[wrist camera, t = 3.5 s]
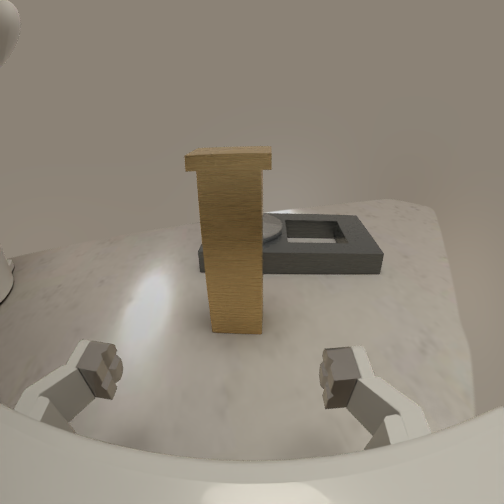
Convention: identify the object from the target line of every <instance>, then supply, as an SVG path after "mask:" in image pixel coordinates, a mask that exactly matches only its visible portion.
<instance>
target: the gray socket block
mask: <svg viewBox="0 0 504 504" xmlns="http://www.w3.org/2000/svg"><path fill="white" fill-rule="evenodd" d="M287 237H301V238H335V239H336V242H337V243H290V242H288V241H287ZM198 256H199V265H200V272H205V265H204V256H203V246H202V244H201V247H200V249H199V251H198ZM383 256H384V253H383V252H382V251H381V249H380V248H379V246H378V245H377V243H376V242H375V241H374V239H373V238H372V236H371V235H370V234H369V232H368V231H367V229H366V228H365V227H364V225H363V224H362V223H361V221H360V220H359V219H358V217H357V216H353V215H323V214H272V213H263V273H277V274H380V270H381V265H382V261H383Z"/></svg>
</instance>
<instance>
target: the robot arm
mask: <svg viewBox="0 0 504 504" xmlns="http://www.w3.org/2000/svg"><path fill="white" fill-rule="evenodd" d="M20 28H21V20H20V16H19V12H18V10H17V9H16V7H15V6H14V5H13V4H12V3H11V2H9V1H7V0H0V67H1V66H3V64H4V63H5V62H6V61H7V59H8V58H9V57H10V55H11V54H12V52H13V50H14V48H15V46H16V44H17V41H18V38H19V35H20ZM13 268H14V264H13V262H12V260H11V259H6V257H5V254H4V252H3V250H2V247H1V245H0V303H1V302H2V300H3V299H4V298H5V297H6V296H7V294H8V293H9V291H10V289H11V288H12V285H13V276H12V270H13ZM116 352H117V349H116V347H115V345H114V344H110V343H103V342H97V341H90V340H84V339H82V340H81V341H79V343H78V345H77V346H76V348H75V350H74V351H73V353H72V355H71V357H70V358H69V360H68V362H67V364H66V365H65V366H64V365H62V366H61V367H59V368H57V369H56V370H54V371H53V372H51V373H50V374H48V375H46V376H45V377H43V378H42V379H40V380H39V381H37V382H35V383H34V384H32V385H31V386H29V387H28V388H26V389H25V390H24V392H23V394H22V395H21V397H20V399H19V401H18V403H17V404H16V406H15V408H14V410H13V409H11V408H9V407H7V406H4V405H2V404H0V504H504V407H502V406H501V407H497V408H495V409H492V410H490V411H488V412H486V413H484V414H481V415H479V416H477V417H474V418H472V419H469V420H467V421H464V422H462V423H459V424H456V425H454V426H451V427H448V428H445V429H443V430H440V431H437V432H434V433H431V430H430V428H429V425H428V423H427V420H426V417H425V415H424V412H423V410H422V408H421V407H420V406H419V405H417V404H416V403H415V402H413V401H412V400H411V399H409V398H408V397H406V396H405V395H404V394H402V393H401V392H400V391H398V390H397V389H396V388H394V387H393V386H392V385H390V384H389V383H388V382H386V381H385V380H383V379H382V378H381V377H379V376H375V374H374V371H373V369H372V366H371V363H370V361H369V358H368V356H367V353H366V351H365V348H364V346H362V345H361V346H351V347H339V348H328V349H324V351H323V355H322V357H323V362H322V363H321V364H320V369H319V379H320V385H321V387H322V388H323V389H324V392H323V395H322V396H323V401H324V406H325V409H333V408H344V407H347V410H348V411H349V412H350V413H351V414H352V415H353V416H354V417H355V418H356V419H357V420H358V421H359V422H360V423H361V424H362V425H363V426H364V427H365V428H366V429H367V430H368V431H369V432H370V434H371V435H372V436H373V437H372V438H371V440H370V441H369V443H368V444H367V446H366V447H365V448H364V450H363V451H357V452H351V453H345V454H339V455H331V456H323V457H314V458H303V459H289V460H261V461H245V460H217V459H203V458H192V457H183V456H175V455H167V454H160V453H154V452H148V451H143V450H138V449H133V448H128V447H123V446H119V445H114V444H110V443H106V442H102V441H99V440H95V439H91V438H88V437H84V436H81V435H78V434H75V430H74V429H73V428H72V427H71V426H70V424H69V423H68V422H70V421H71V420H72V419H73V418H74V417H75V416H76V415H77V414H78V413H79V412H81V411H82V410H83V409H84V408H85V407H86V406H87V405H88V404H89V403H90V402H92V401H93V400H94V399H95V397H99V398H104V399H110V400H113V397H114V395H115V392H116V390H117V386H116V382H118V381H119V380H120V379H121V377H122V373H123V364H122V361H121V358H120V357H118V356H117V355H116Z"/></svg>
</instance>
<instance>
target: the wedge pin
mask: <svg viewBox="0 0 504 504" xmlns="http://www.w3.org/2000/svg"><path fill="white" fill-rule="evenodd" d="M185 169H186V171H196V174H197V188H198V201H199V213H200V225H201V235H202V246H203V256H204V265H205V275H206V283H207V292H208V300H209V308H210V316H211V324H212V332H217V333H240V334H262V317H263V170H271V146H270V147H269V146H264V147H263V146H261V147H260V146H259V147H258V146H257V147H256V146H254V147H252V146H251V147H215V148H198V149H196V150H194V151H192V152H190V153H189V154H187V155H185Z"/></svg>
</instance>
